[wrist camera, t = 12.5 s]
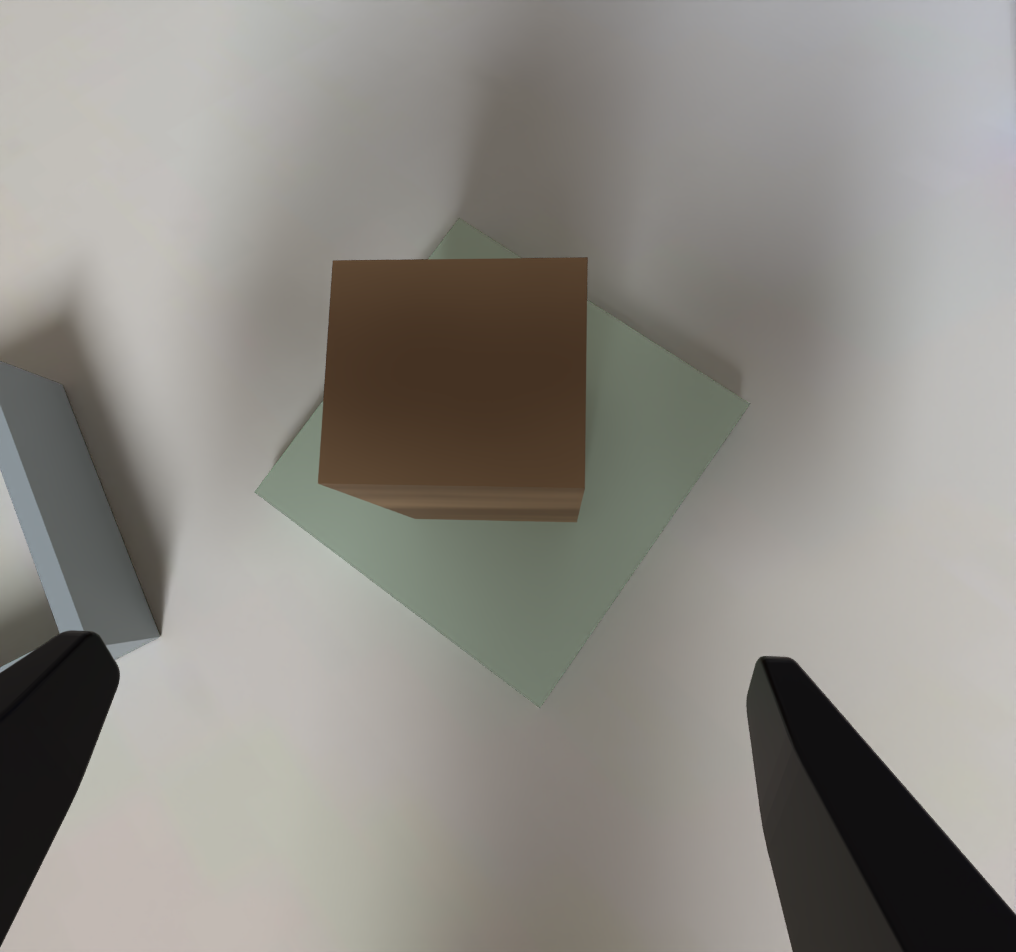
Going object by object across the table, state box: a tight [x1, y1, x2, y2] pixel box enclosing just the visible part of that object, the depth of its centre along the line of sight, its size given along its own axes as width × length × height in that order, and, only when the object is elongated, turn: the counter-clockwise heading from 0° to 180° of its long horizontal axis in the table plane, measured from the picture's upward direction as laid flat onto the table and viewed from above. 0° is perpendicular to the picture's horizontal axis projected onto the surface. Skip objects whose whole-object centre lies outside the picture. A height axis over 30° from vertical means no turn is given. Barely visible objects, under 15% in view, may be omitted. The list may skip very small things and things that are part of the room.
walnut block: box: [318, 257, 588, 522], centre depth 15 cm, size 4×4×8 cm
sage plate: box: [255, 218, 750, 708], centre depth 19 cm, size 10×10×1 cm
